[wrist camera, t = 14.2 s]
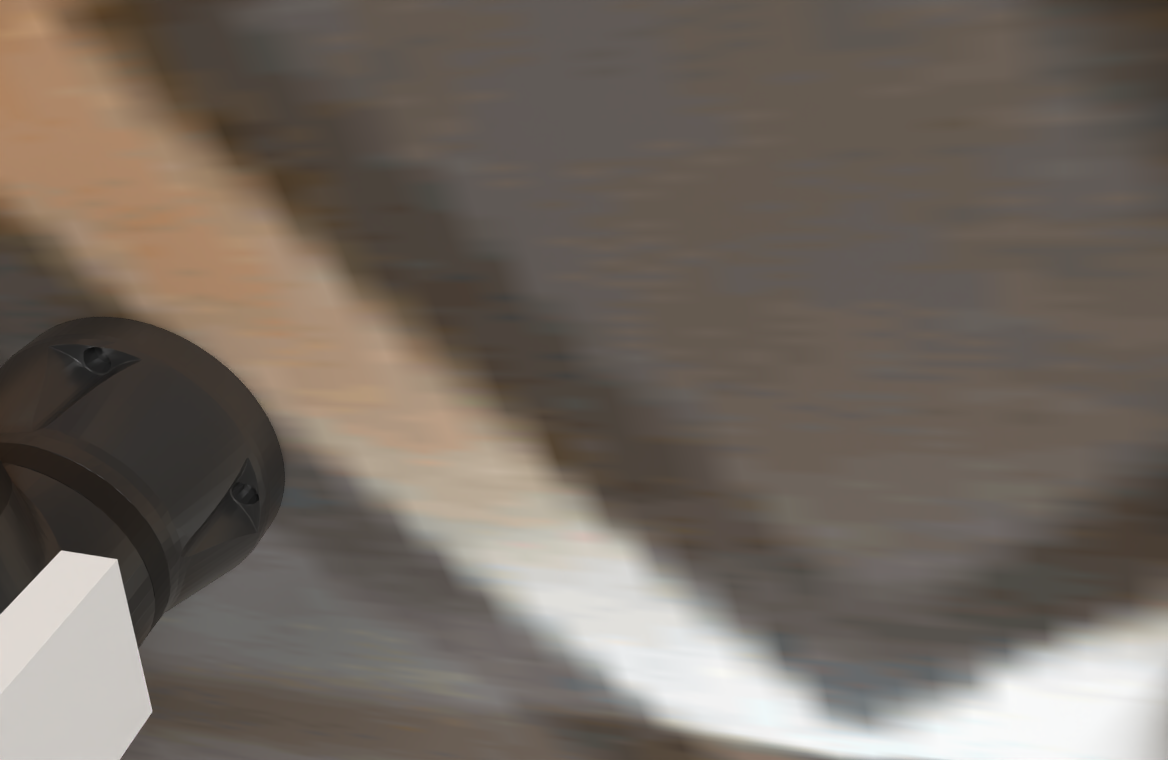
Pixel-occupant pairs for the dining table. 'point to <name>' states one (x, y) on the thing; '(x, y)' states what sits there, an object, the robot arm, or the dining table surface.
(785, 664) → the dining table surface
